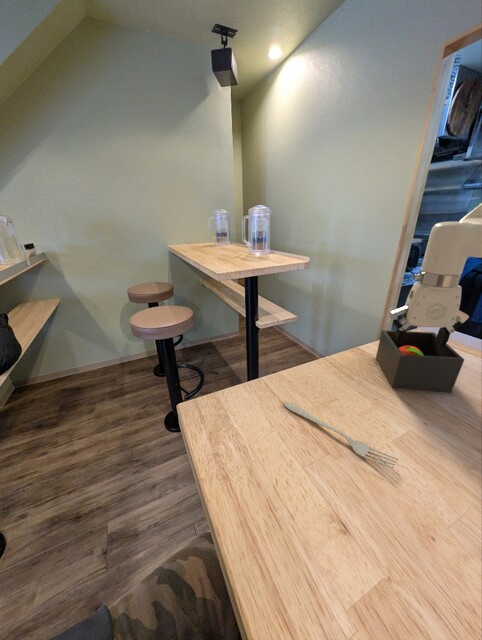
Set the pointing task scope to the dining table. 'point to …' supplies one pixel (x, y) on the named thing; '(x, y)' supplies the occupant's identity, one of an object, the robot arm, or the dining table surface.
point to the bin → (418, 362)
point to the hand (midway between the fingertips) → (419, 343)
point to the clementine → (410, 350)
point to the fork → (356, 446)
